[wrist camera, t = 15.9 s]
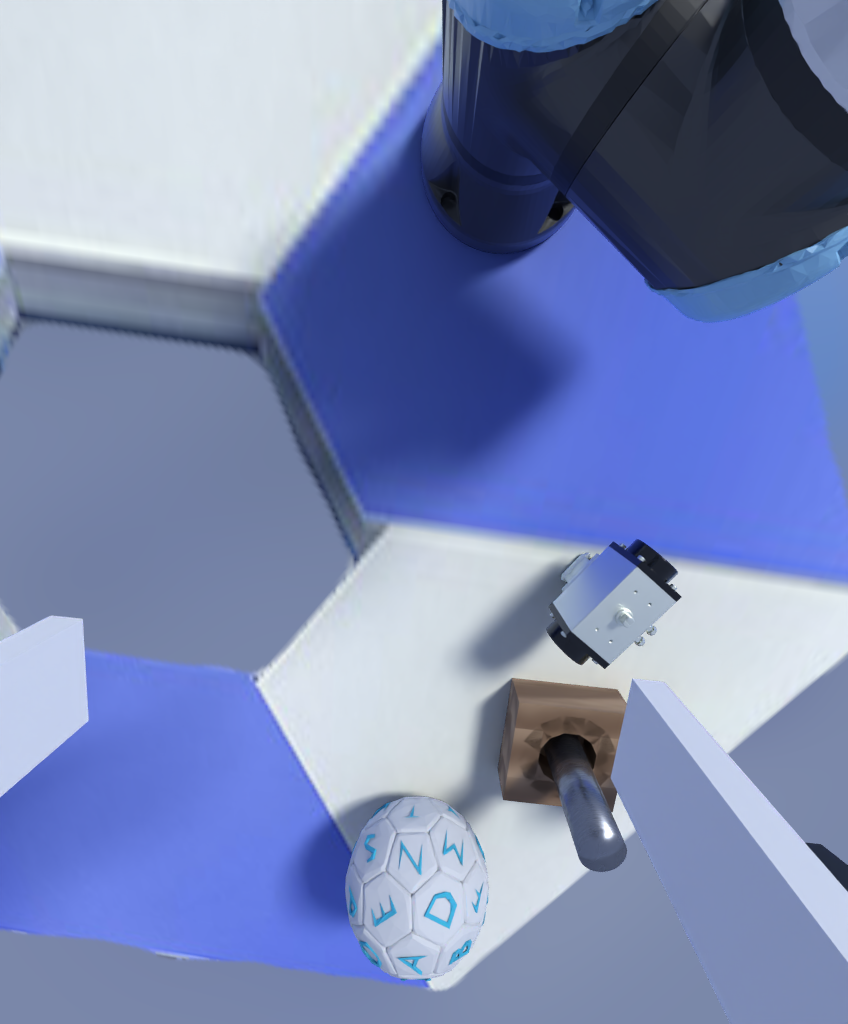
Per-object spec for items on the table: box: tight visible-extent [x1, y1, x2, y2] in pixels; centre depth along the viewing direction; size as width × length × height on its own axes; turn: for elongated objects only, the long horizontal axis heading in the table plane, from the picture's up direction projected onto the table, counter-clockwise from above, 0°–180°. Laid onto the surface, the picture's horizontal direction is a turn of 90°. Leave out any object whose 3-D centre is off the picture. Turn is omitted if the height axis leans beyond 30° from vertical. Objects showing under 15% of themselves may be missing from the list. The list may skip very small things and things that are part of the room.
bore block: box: [498, 678, 627, 812], centre depth 50 cm, size 12×12×4 cm
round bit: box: [543, 733, 627, 872], centre depth 44 cm, size 4×4×14 cm
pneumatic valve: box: [546, 539, 681, 669], centre depth 42 cm, size 6×12×12 cm, turn 139°
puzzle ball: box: [345, 796, 489, 981], centre depth 48 cm, size 15×15×15 cm
